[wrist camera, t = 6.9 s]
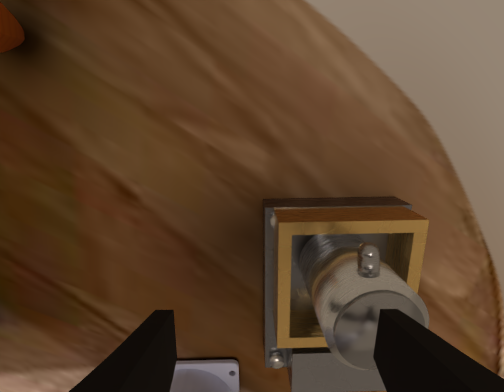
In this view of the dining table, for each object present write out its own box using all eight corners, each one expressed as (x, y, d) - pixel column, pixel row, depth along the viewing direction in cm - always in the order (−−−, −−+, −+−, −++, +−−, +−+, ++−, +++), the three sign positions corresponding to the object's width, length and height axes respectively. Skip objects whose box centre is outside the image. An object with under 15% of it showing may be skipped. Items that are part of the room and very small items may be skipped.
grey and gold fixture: (376, 342, 22) (409, 397, 17) (263, 345, 22) (267, 401, 17) (394, 196, 19) (439, 218, 14) (263, 199, 19) (268, 222, 14)
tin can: (368, 287, 18) (430, 370, 12) (301, 295, 18) (328, 381, 12) (368, 203, 17) (438, 248, 11) (295, 211, 17) (322, 261, 11)
